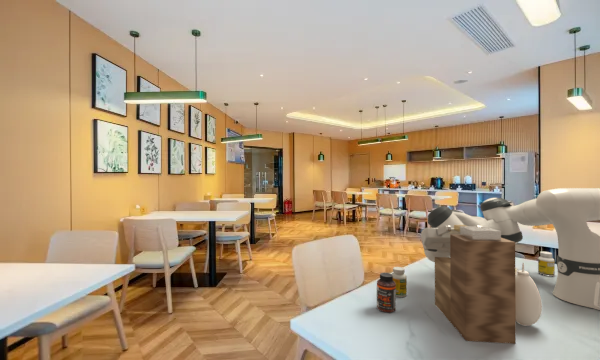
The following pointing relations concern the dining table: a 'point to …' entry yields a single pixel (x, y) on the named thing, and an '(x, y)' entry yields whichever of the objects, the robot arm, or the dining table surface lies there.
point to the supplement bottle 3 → (546, 264)
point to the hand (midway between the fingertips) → (464, 228)
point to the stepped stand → (478, 289)
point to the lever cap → (478, 232)
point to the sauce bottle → (527, 299)
